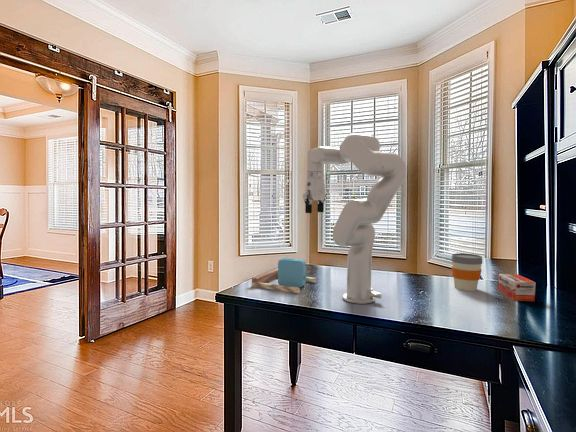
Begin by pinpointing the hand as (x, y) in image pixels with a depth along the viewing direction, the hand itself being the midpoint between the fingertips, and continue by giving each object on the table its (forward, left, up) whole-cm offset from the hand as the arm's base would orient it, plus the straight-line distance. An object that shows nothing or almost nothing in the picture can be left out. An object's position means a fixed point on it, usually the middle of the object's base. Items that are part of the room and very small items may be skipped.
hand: (314, 212), depth 168 cm
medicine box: (-84, -20, -34) cm, 92 cm away
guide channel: (+11, +9, -33) cm, 36 cm away
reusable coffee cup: (-65, -23, -34) cm, 76 cm away
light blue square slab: (+7, +9, -34) cm, 35 cm away
